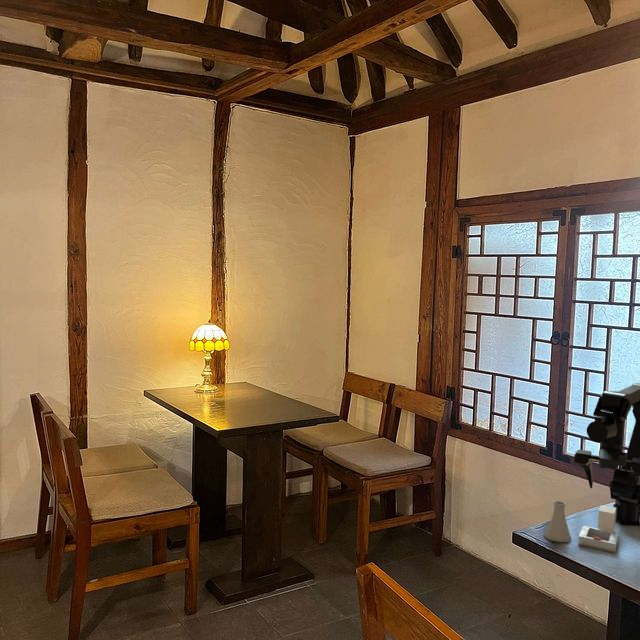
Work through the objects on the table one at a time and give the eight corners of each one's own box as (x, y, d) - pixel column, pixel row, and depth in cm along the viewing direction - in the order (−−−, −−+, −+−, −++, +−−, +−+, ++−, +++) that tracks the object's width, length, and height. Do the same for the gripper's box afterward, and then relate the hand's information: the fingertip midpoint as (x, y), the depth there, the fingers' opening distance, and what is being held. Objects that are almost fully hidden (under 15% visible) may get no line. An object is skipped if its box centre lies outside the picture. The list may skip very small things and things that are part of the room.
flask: (573, 544, 173) (576, 508, 172) (545, 541, 174) (547, 505, 174) (568, 534, 180) (571, 499, 179) (541, 531, 181) (544, 496, 181)
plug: (599, 528, 185) (601, 504, 185) (614, 531, 183) (616, 507, 183) (597, 534, 180) (598, 510, 180) (612, 538, 178) (614, 513, 178)
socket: (582, 534, 180) (583, 523, 180) (618, 541, 176) (618, 530, 176) (578, 545, 173) (578, 534, 172) (614, 553, 168) (615, 542, 168)
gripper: (572, 437, 178) (569, 492, 179) (648, 448, 168) (644, 506, 169) (578, 429, 187) (575, 482, 188) (650, 439, 178) (646, 494, 179)
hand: (608, 491), depth 181 cm, fingers open, 9 cm apart
